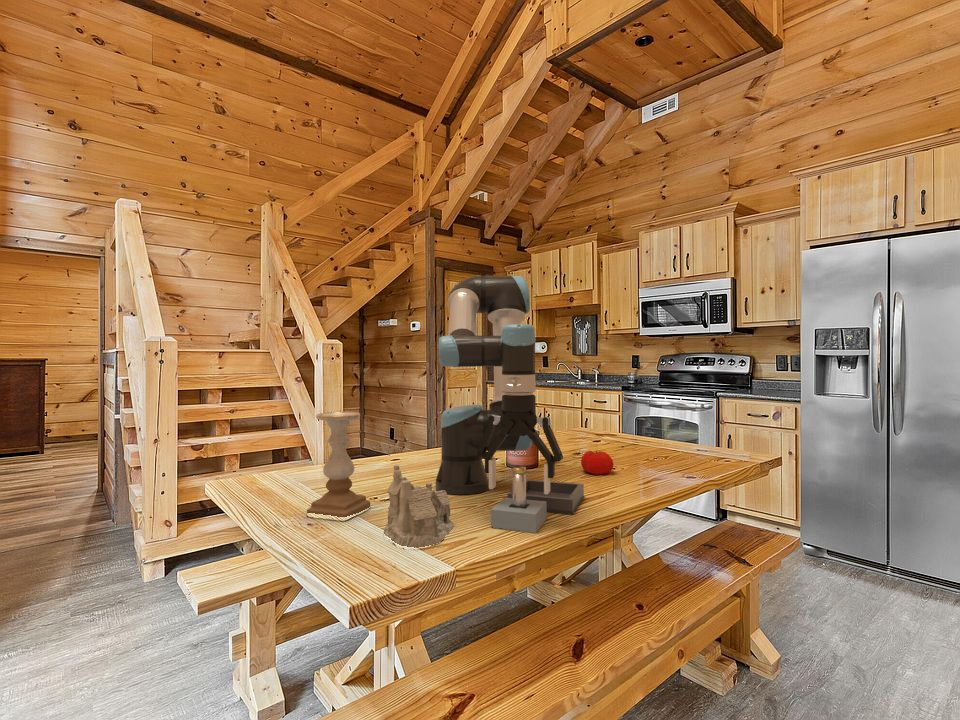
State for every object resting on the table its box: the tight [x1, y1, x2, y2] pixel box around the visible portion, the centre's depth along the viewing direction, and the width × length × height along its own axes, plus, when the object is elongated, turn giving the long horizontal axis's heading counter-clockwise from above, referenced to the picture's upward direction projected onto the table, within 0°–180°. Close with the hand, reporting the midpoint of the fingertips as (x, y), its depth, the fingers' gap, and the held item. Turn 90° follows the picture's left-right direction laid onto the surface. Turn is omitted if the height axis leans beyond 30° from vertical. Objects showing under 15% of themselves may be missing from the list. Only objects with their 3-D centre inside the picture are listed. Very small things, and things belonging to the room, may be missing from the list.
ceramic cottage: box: [383, 463, 454, 548], centre depth 108 cm, size 16×16×15 cm
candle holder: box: [306, 411, 371, 517], centre depth 122 cm, size 11×11×24 cm
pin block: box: [490, 497, 548, 534], centre depth 113 cm, size 10×10×4 cm
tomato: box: [580, 450, 615, 476], centre depth 163 cm, size 10×11×6 cm
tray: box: [506, 478, 585, 516], centre depth 129 cm, size 16×16×4 cm
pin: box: [511, 465, 527, 509], centre depth 113 cm, size 3×3×12 cm
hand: (519, 490), depth 113 cm, fingers open, 12 cm apart
